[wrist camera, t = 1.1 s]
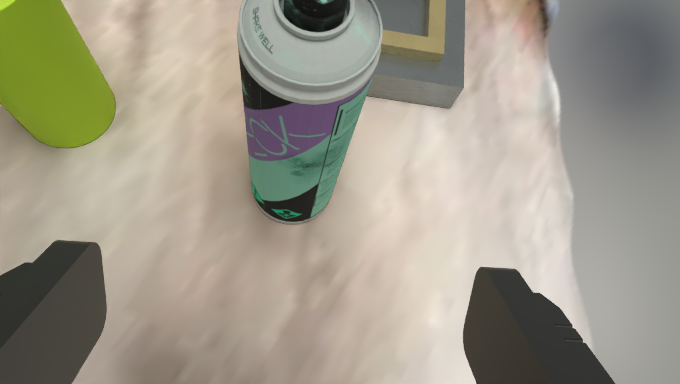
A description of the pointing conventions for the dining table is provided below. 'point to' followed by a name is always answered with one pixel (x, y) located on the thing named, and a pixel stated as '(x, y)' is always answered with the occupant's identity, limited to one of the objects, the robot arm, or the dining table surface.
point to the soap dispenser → (51, 75)
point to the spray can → (303, 96)
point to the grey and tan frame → (420, 52)
